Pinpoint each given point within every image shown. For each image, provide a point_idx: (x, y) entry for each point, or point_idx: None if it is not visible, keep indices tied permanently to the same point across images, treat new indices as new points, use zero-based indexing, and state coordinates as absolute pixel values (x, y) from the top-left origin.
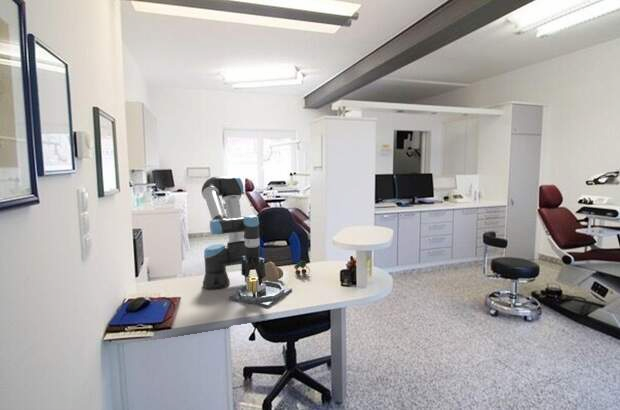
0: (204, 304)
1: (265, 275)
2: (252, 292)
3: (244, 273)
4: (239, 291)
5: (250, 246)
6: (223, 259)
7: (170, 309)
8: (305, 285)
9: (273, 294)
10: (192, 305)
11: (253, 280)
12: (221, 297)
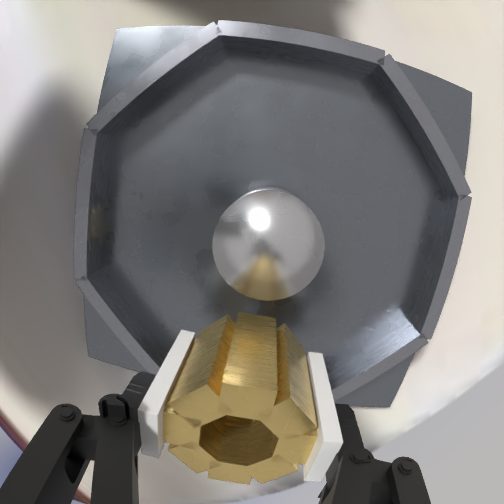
0: (46, 401)
1: (419, 472)
2: (191, 250)
3: (91, 458)
4: (115, 334)
5: None
6: None
7: (5, 428)
8: (486, 9)
9: (389, 249)
10: (22, 407)
11: (263, 473)
12: (43, 321)
